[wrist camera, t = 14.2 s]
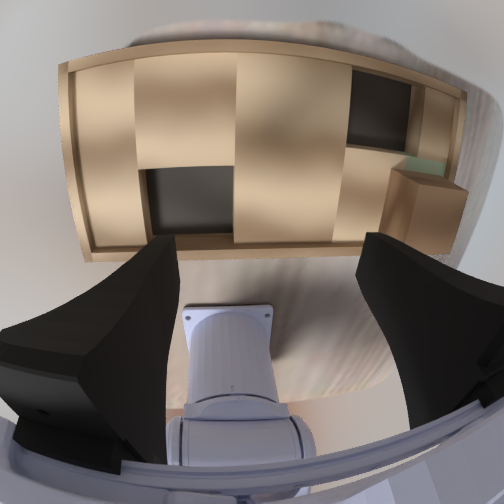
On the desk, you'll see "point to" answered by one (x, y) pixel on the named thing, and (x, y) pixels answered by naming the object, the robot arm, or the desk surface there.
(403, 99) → the tray
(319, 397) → the desk surface
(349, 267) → the desk surface
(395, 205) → the walnut block
